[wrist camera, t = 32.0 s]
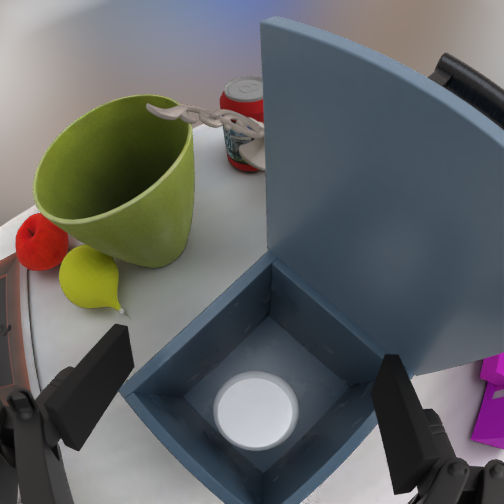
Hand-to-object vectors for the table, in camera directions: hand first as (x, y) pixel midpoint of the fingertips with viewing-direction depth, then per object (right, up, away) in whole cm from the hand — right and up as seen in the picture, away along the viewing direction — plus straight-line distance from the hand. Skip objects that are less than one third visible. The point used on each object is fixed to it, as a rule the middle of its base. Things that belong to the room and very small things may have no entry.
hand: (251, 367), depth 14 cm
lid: (+5, +5, -3) cm, 8 cm away
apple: (-27, +5, +22) cm, 35 cm away
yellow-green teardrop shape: (-20, +6, +17) cm, 27 cm away
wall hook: (+10, +18, +29) cm, 36 cm away
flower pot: (-11, +7, +22) cm, 26 cm away
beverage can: (0, +19, +28) cm, 34 cm away
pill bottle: (+1, -9, +13) cm, 16 cm away
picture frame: (-36, -7, +16) cm, 40 cm away
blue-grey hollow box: (+1, -8, +14) cm, 16 cm away
